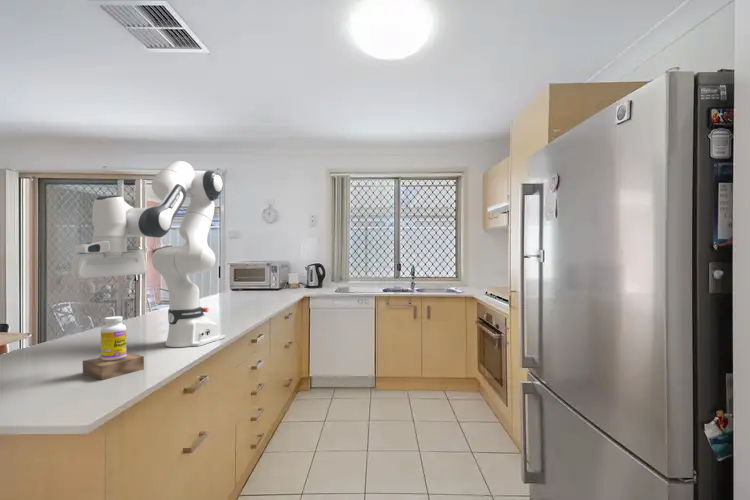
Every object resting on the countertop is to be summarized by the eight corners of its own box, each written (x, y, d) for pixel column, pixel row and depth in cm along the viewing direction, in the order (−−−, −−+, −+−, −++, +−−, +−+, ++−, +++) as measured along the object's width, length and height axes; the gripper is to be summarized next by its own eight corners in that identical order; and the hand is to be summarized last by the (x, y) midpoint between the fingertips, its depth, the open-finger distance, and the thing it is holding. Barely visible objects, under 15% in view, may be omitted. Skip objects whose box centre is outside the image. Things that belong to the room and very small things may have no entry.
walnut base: (124, 363, 132) (124, 351, 132) (143, 369, 125) (143, 356, 125) (82, 373, 121) (82, 360, 121) (101, 380, 115) (101, 366, 115)
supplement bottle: (114, 362, 120) (113, 319, 119) (95, 361, 121) (94, 319, 121) (131, 355, 126) (131, 315, 126) (114, 355, 127) (113, 315, 127)
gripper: (139, 246, 134) (140, 287, 134) (67, 247, 116) (68, 294, 117) (149, 246, 131) (150, 288, 131) (77, 247, 113) (78, 295, 113)
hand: (111, 291), depth 123 cm, fingers open, 8 cm apart
